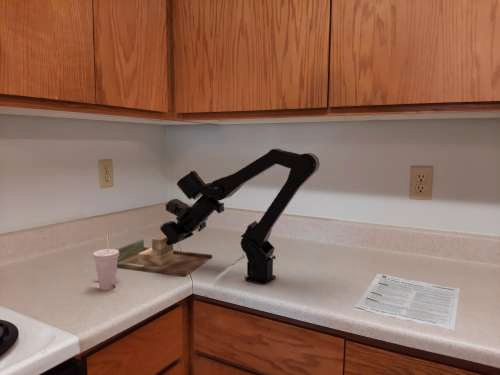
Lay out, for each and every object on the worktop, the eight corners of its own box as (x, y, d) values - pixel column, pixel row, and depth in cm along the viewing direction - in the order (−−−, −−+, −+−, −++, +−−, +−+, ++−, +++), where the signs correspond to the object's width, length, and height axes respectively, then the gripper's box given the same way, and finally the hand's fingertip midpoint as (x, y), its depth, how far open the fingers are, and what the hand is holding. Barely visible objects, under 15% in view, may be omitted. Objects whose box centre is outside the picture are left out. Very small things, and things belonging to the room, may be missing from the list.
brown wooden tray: (212, 262, 117) (212, 245, 116) (184, 282, 100) (184, 262, 99) (143, 254, 125) (142, 238, 124) (107, 271, 108) (106, 253, 107)
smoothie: (124, 288, 96) (122, 236, 94) (100, 294, 91) (97, 240, 90) (114, 281, 100) (112, 231, 98) (90, 287, 96) (88, 235, 94)
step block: (173, 259, 115) (172, 234, 114) (161, 266, 108) (160, 240, 107) (151, 256, 117) (150, 232, 117) (138, 263, 111) (137, 237, 110)
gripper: (197, 187, 116) (167, 218, 121) (165, 194, 98) (132, 231, 103) (219, 213, 114) (188, 243, 119) (192, 225, 97) (157, 261, 102)
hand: (167, 244), depth 111 cm, fingers closed, pressing on step block
